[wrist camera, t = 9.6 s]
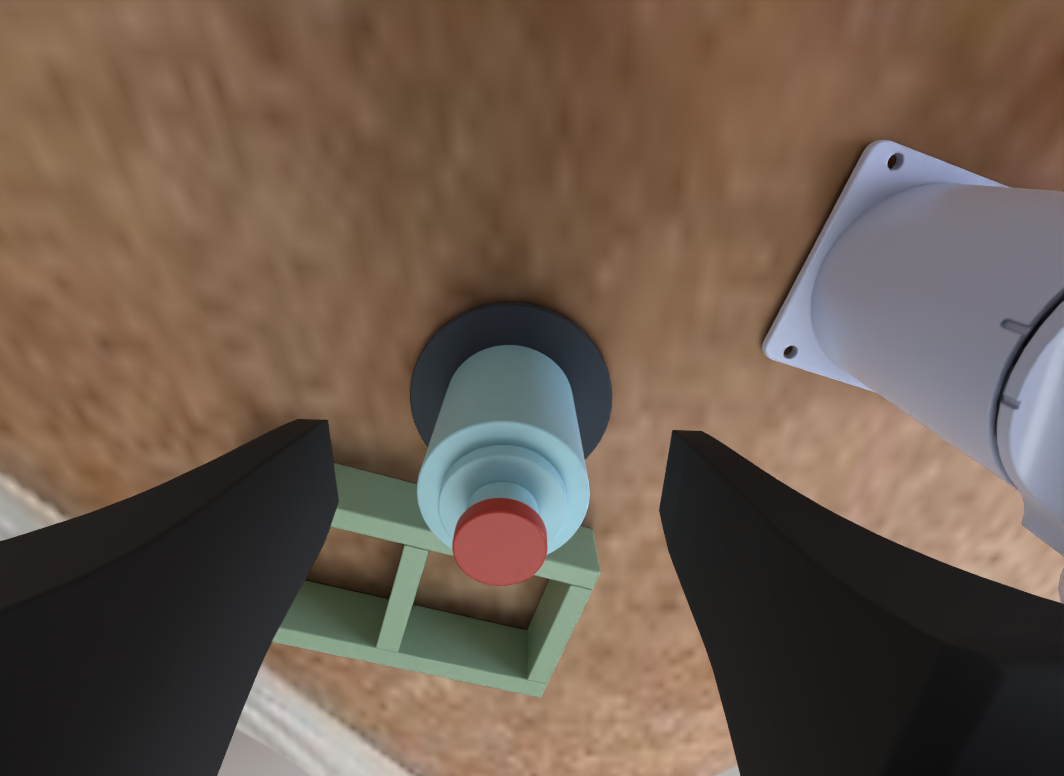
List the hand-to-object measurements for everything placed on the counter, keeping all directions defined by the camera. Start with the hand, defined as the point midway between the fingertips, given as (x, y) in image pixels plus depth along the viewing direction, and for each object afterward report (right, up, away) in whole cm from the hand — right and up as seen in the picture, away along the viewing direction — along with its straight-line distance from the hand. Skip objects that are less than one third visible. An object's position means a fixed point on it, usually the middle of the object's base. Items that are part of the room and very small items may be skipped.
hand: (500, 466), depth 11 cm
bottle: (0, +1, +10) cm, 10 cm away
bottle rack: (-5, -6, +14) cm, 16 cm away
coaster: (0, +1, +10) cm, 10 cm away
